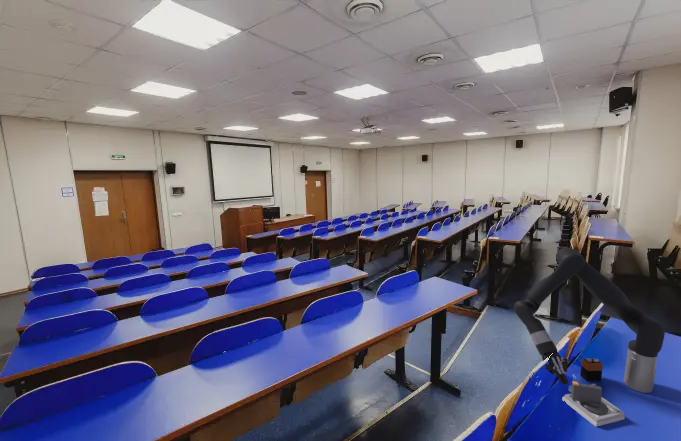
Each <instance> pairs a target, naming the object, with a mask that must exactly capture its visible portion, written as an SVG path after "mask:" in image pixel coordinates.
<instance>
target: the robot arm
mask: <svg viewBox="0 0 681 441" xmlns="http://www.w3.org/2000/svg"><path fill="white" fill-rule="evenodd" d="M555 257H556V258H555V259H556V262H557V263H558V266H557V267H556V268H555V270H554V271H553V272H552V273H551V274H549V275H547V276H545V277H544V278H542V279H541V280H539V281H538V282H536V284H534V285H533V286H532V288H531V289H530V290H529V291H528V292H527V298H526V299H525V300H517V301H515V303H514V304H513V309H514V312H515V314H516V315H517V317H518V318H519V319H520V321H521V322H522V323H523V325H524V326H525V328H526V330H527V331H528V333H529V336H530V337H531V341H532V342H533V344H534V346H535V348H536V350H537V352H538V353H539V355H540V356H541V358H542V362H543V361H544V360H545V359H546V358H547V357H548V358H549V356H550V355H551V354H552V353H553V354H552V355H551V356H550V358H549V360H548V362H549V364H546V365H545V366H546V368H544V370H546V371H547V372H548V373H550V374H551V375H555V376H556V377H557V378H558V380H559V382H560V383H561V384H562V385H567V384H569V380H568V378H567V376H566V373H567V372H568V358H563V357H562V355H561V354H560V353H558V348H557V346H556V345H555V343H554V341H553V339H552V337H551V336H550V334H549V333H548V331H547V330H546V327H545V326H544V324H543V323H542V321H541V320H540V319H539V318H536V317H535V315H534V314H536V313H537V312H538V310H539V309H540V307H541V305H542V303H543V302H545V300H546V299H548V297H550V296H551V294H552V293H554V291H556V289H558V288H559V287H560V286H562V285H563V284H564V283H566V282H567V281H568V280H570V279H571V278H572V277H574V276H576V277H577V278H578V279H579V281H580V282H581V283H582V285H584V287H585V288H586V289H587V291H589V292H590V294H591V295H593V296H594V297H595V299H596V300H598V301H599V302H600V303H601V304H602V305H604V306H605V307H607V308H608V309H609V310H610V311H613V312H614V313H615V314H616V315H617V316H618V317H619V318H620V319H621V320H622V322H624V323H625V324H626V326H627V327H628V328H629V329H630V330H631V331H632V332H633V333H634V334H636V337H635V340H634V339H633V340H630V341H629V342H628V344H627V345H628V346H627V352H626V353H627V354H626V360H625V361H626V362H625V368H624V375H623V383H624V384H625V385H626V386H627V387H629V388H630V389H632V390H634V391H637V392H640V393H644V394H645V393H646V394H650V393H652V392H653V389H654V387H655V386H654V384H655V378H656V375H657V374H656V373H657V369H656V367H657V360H658V354H659V353H660V352H661V351H662V348H663V344H664V341H665V340H664V339H665V334H666V333H665V332H666V331H665V328H664V326H663V325H662V324H661V323H660V322H658V321H657V320H655V319H654V318H652V317H651V316H649V315H647V314H646V313H644V312H643V311H641V310H640V309H639V308H638V307H636V306H635V305H634V304H632V303H631V301H629V299H628V297H627V296H626V294H625V293H624V292H623V291H622V290H621V288H619V287H618V286H617V285H616V284H614V282H612V281H611V280H610V279H608V278H607V277H606V276H605V275H604V274H602V273H601V272H599V271H598V270H597V269H596V268H594V267H593V266H592V265H591V264H590V263H589V262H588V261H587V260H586V258H584V256H583V255H582V254H581V253H580V252H579V251H578V250H576V249H575V248H572V247H562V248H560V249H558V250H557V252H556V254H555Z"/></svg>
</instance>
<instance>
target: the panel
mask: <svg viewBox="0 0 681 441" xmlns="http://www.w3.org/2000/svg"><path fill="white" fill-rule="evenodd" d="M561 400H562V401H563V402H564V401H565V402H566V404H567V405H568V406H569V407H570V408H572V409H573V410H574V411H576V413H578V415H580V416H581V417H582V418H584V419H585V420H587V421H588V422H589V423H590V424H591V425H593V426H594V427H601V426H604V425H607V424H613V423H616V422H620V421H624V420H625V411H623V410H621V409H620V408H618V407H617V406H615V405H614V404H613V403H611V402H610V401H608V400H607V399H605V398H604V397H601V401H602V402H603V403H604V404H605V405H606V406H607V407H608V413H607V414H605V415H599V414H595V413H592V412H590V411H588V410H587V409H585V408H584V407H583V406H581V404H580V403H579V401H575V400H572V398H571V392H570V393H566V394H564V396H562V398H561ZM565 402H564V403H565Z"/></svg>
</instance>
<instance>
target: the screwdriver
mask: <svg viewBox="0 0 681 441" xmlns="http://www.w3.org/2000/svg"><path fill="white" fill-rule="evenodd" d="M578 383H579V384H584V383H583V382H578ZM589 385H592V386H597V384H596V383H591V384H589ZM568 391H569V392H570V393H572V384H571V385H568Z"/></svg>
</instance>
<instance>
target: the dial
mask: <svg viewBox="0 0 681 441" xmlns="http://www.w3.org/2000/svg"><path fill="white" fill-rule="evenodd" d="M579 383H580V382H578V381H575V380H572V383H571V385H572V393H571V392H570V393H571V398H572V400H575V401H579V403H580V404H581V406H583V407H584V408H585V409H587V410H588V411H590V412H592V413H595V414H599V415H605V414H607V413H608V407H607V406H606V405H605V404H604V403H603V402H602V401H601V397H602V395H603V389H602V387H601V386H598V385H595V386H592V385H590V384H585V383H583V384H579ZM602 398H603V397H602Z"/></svg>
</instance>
